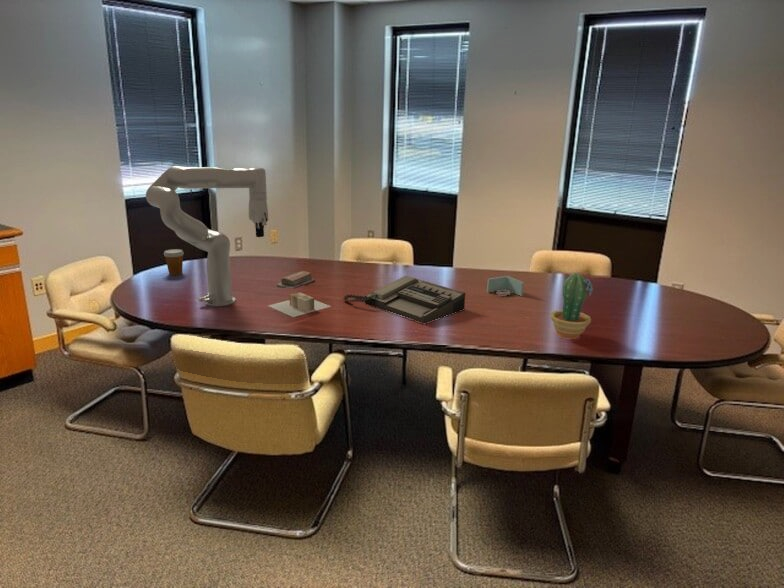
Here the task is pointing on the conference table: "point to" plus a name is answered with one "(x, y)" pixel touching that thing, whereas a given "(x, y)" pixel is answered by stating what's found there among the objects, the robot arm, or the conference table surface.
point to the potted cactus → (572, 308)
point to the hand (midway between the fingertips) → (260, 236)
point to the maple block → (301, 301)
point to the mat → (294, 311)
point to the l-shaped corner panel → (505, 285)
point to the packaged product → (296, 280)
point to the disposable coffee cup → (174, 261)
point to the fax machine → (415, 299)
